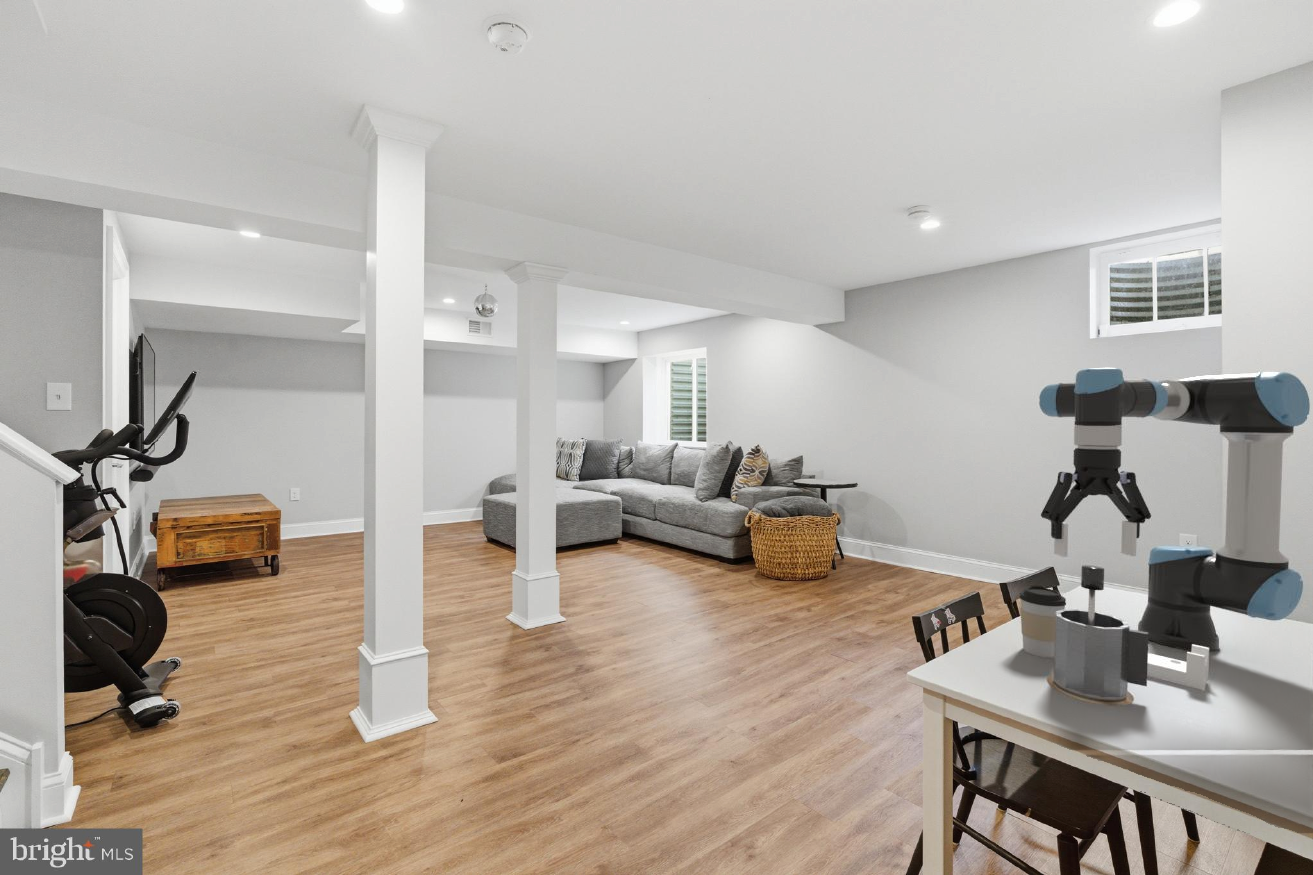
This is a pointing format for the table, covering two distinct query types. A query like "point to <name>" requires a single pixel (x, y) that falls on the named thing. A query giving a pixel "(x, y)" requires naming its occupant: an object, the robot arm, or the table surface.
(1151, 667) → the bracket
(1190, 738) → the table surface
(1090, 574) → the plunger
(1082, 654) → the grey hollow faceted piece
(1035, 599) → the coffee cup
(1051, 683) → the trivet
